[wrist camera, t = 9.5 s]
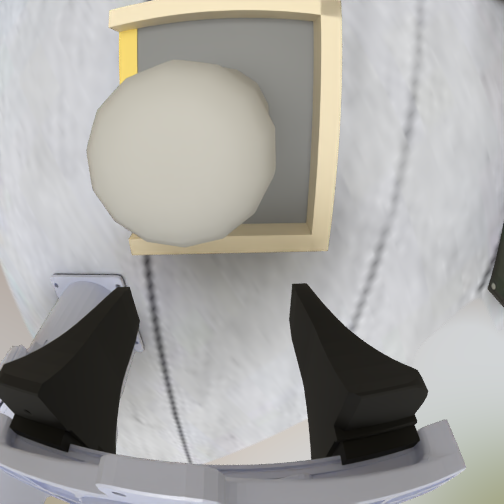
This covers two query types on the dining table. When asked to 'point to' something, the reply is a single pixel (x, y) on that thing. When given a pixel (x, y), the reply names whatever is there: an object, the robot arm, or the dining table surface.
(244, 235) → the tray
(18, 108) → the dining table surface
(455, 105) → the dining table surface
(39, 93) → the dining table surface
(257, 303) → the dining table surface
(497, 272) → the boombox
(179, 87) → the salt shaker
